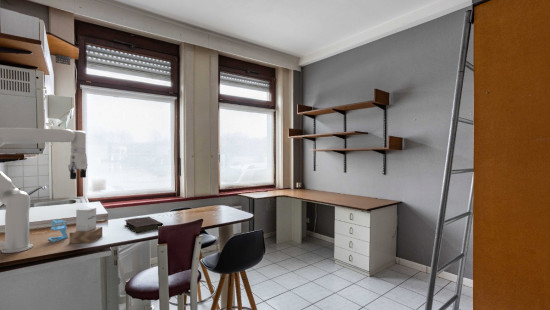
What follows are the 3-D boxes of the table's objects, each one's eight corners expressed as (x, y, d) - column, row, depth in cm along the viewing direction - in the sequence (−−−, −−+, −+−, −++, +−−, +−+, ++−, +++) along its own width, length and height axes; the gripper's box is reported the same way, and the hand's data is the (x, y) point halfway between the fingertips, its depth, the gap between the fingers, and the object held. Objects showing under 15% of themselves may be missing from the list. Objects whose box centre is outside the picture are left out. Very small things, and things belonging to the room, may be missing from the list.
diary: (149, 222, 212) (150, 216, 211) (163, 229, 194) (163, 222, 194) (122, 226, 198) (123, 219, 198) (134, 234, 181) (135, 226, 181)
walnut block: (69, 243, 161) (69, 232, 161) (82, 236, 173) (82, 227, 173) (91, 242, 162) (91, 232, 162) (102, 236, 174) (102, 226, 174)
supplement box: (87, 231, 163) (87, 210, 163) (75, 231, 164) (75, 209, 164) (96, 228, 171) (96, 207, 171) (85, 227, 172) (85, 207, 172)
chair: (69, 238, 169) (69, 218, 169) (53, 242, 162) (53, 221, 162) (64, 236, 174) (64, 217, 174) (48, 239, 167) (48, 219, 167)
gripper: (75, 150, 165) (75, 179, 165) (92, 150, 182) (92, 177, 182) (62, 150, 164) (62, 179, 164) (80, 150, 181) (80, 176, 182)
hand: (78, 178), depth 173 cm, fingers open, 9 cm apart
